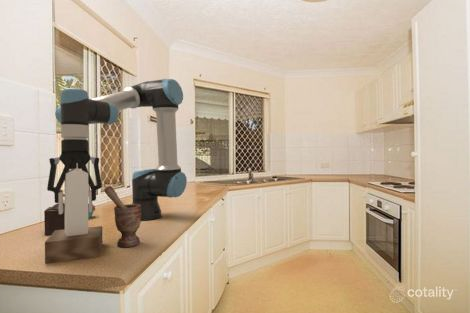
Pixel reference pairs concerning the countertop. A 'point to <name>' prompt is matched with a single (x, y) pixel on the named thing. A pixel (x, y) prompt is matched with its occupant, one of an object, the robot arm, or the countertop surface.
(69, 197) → the milk
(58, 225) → the coffee grinder
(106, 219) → the countertop surface
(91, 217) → the cupcake
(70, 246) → the riser
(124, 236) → the mortar and pestle
